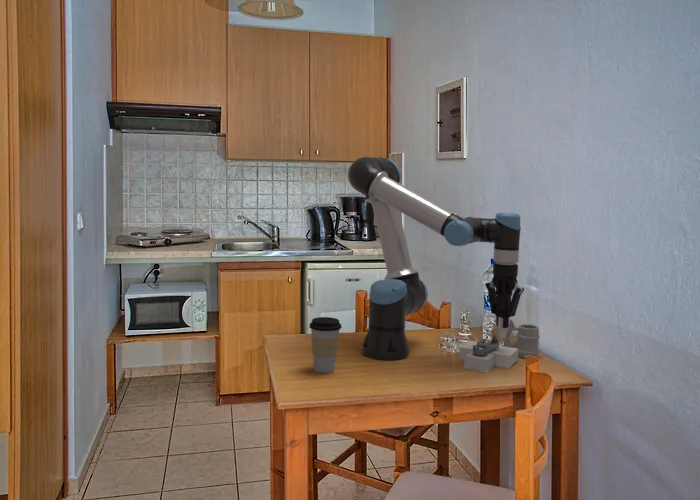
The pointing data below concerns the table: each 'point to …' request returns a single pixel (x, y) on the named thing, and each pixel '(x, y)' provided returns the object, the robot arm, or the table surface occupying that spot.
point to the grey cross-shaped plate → (501, 354)
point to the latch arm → (488, 344)
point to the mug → (523, 339)
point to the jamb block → (479, 361)
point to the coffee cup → (324, 343)
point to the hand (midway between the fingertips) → (501, 337)
